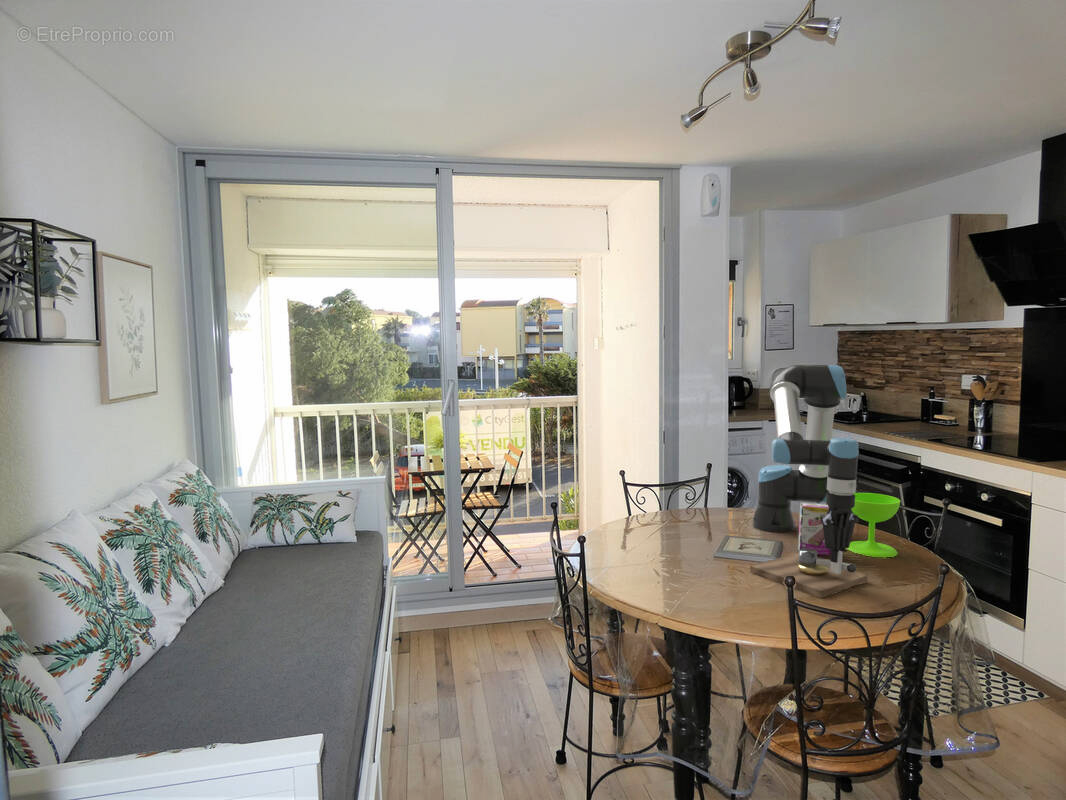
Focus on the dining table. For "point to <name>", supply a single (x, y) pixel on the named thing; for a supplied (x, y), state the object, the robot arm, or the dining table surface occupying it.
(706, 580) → the dining table surface
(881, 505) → the wineglass
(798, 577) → the board
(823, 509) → the candy bar box
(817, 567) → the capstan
